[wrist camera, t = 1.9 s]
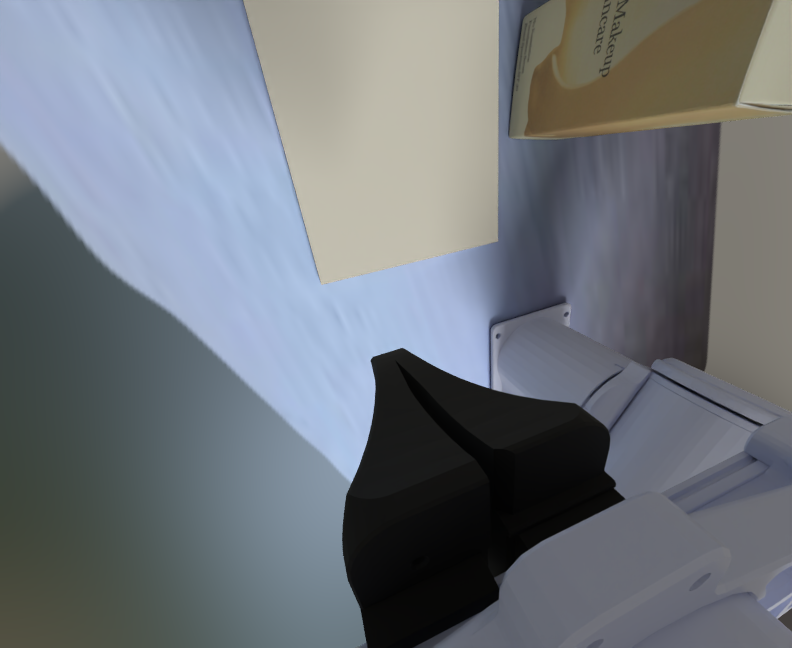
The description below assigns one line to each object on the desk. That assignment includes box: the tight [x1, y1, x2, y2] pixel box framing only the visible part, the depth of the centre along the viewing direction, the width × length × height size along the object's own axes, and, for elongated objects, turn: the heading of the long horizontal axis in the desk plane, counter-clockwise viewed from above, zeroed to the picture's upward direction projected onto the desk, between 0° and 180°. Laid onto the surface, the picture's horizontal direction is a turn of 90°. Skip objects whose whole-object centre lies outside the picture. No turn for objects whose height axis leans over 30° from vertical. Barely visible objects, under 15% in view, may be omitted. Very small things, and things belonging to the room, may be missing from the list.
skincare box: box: [509, 0, 792, 140], centre depth 15 cm, size 6×4×12 cm
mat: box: [243, 0, 499, 285], centre depth 17 cm, size 18×13×1 cm
